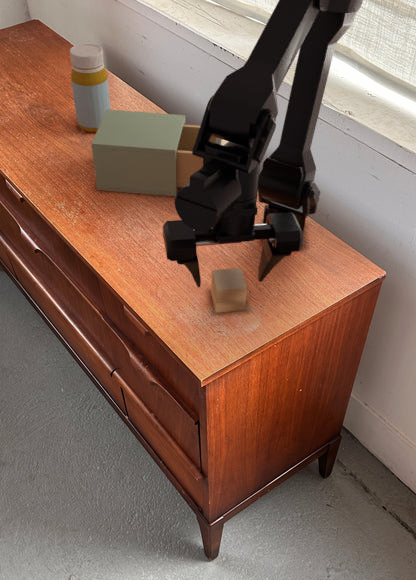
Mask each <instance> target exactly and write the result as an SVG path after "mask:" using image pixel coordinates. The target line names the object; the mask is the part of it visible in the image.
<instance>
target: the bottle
mask: <svg viewBox="0 0 416 580" xmlns="http://www.w3.org/2000/svg"><path fill="white" fill-rule="evenodd" d="M69 56H70V62H71V68H72V69H71V73H70V79H71V87H72V88H71V89H72V95H73V103H74V110H75V116H76V122H77V123H76V124H77V126H78V127H79V128H80V129H81V130H82V131H84V132H86V133H92V134H93V133H95V134H96V132H97V130H98V128H99V126H100V124H101V121H102V119H103V117H104V115H105V113H106V110H107V109H109V110H112V109H111V100H110V88H109V79H108V72H107V70H106V68H105V63H104V62H105V61H104V60H105V59H104V50H103V48H102V46H101V45H99V44H94V43H79V44H76V45H73V46H72V47H71V48H70V49H69Z"/></svg>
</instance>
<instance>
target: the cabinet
mask: <svg viewBox="0 0 416 580" xmlns="http://www.w3.org/2000/svg"><path fill="white" fill-rule="evenodd" d="M183 125H186V115H185V114H174V113H161V112H160V113H159V112H147V111H135V110H134V111H133V110H122V109H121V110H119V109H111V110H109V109H107V110H106V113H105V115H104V117H103V119H102V121H101V124H100V126H99V128H98V130H97V132H96V133H95V134H94V137H93V139H92V141H91V152H92V153H91V154H92V161H93V168H94V176H95V185H96V191H105V192H106V191H107V192H118V193H129V194H140V195H153V196H165V197H176V196H177V193H178V192H179V187H177V172H176V151H177V147H178V144H179V140H180V136H181V133H182V129H183Z"/></svg>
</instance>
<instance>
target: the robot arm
mask: <svg viewBox="0 0 416 580" xmlns="http://www.w3.org/2000/svg"><path fill="white" fill-rule="evenodd" d="M363 3H364V0H278V1H277V3H276V5H275V7H274V9H273V11H272V13H271V15H270V17H269V18H268V20H267V22H266V24H265V26H264V28H263V30H262V32H261V34H260V35H259V37H258V39H257V41H256V42H255V45H254V47H253V49H252V50H251V52H250V54H249V55H248V58H247V59H246V61H245V63H244V64H243V66H241V67H240V68H238V69H236V70H234V71H232V72H231V73H228V75H226V76H225V77H224V78H223V80H222V81H221V83H220V85H219V86H218V87H217V89H216V91H215V92H214V94H213V95H212V96H211V97H210V98H209V100H208V101H207V105H206V108H205V110H204V114H203V116H202V120H201V123H200V125H199V126H200V129H199V132H198V135H197V139H196V142H195V145H194V148H193V151H192V155H194V156H197V157H200V158H203V167H202V168H201V169H200V170H198V171H196V172H195V173H193V174H192V175H191V176H190V181H189V182H188V183H187V184H186V185H185V186H184V187H180V189H178V191H177V195H176V196H175V198H174V208H175V210H176V214H177V216H178V217H179V219H174V220H167V221H166V222H165V223H164V224H163V225H162V238H163V244H164V249H165V254H166V255H165V256H166V259H167V260H169V261H171V262H176V263H177V264H178V265H180V266H181V265H184V266H185V267H186V269H187V270H188V272H189V273H190V274H191V276H192V278H193V281H194V283H195V285H196V287H197V288H201V285H202V279H201V272H200V263H199V258H198V253H197V247H205V246H216V245H230V244H241V243H246V242H254V241H260V240H261V241H262V247H261V248H262V249H261V253H260V257H259V262H258V267H257V281H258V283H262V282H263V281H264V280H265V279H266V278H267V276H268V275H269V274H270V273H271V272H272V271H273V270H274V268H275V267H276V266H277V265H278V264H279V263H280V262H281V261H282V260H283V259H284V258H286V257H290V256H291V255H292V254H293V253H294V252H300V251H301V250H302V249H303V246H304V233H305V226H306V219H307V217H308V216H309V215H315V214H316V213H317V209H318V204H319V201H320V195H321V190H320V189H319V187H318V186H317V184H316V183H315V177H316V171H317V165H316V163H315V159H314V156H313V153H312V150H311V148H312V143H313V139H314V135H315V131H316V127H317V122H318V119H319V114H320V111H321V107H322V102H323V98H324V94H325V90H326V86H327V82H328V78H329V73H330V69H331V64H332V61H333V57H334V53H335V49H336V44H337V43H338V42H339V41H340V40H341V38H342V37H343V36H344V35H345V34H346V33H347V31H349V29H350V28H351V27H352V26H353V24H354V21H355V19H356V15H357V13H358V12H359V11H360V9H361V7H362V5H363ZM297 55H298V56H297ZM296 57H297V60H296V65H295V68H294V69H295V70H294V76H293V79H292V83H291V88H290V93H289V97H288V98H289V99H288V103H287V107H286V112H285V117H284V122H283V125H282V131H281V134H280V140H279V143H278V146H277V147H276V149H275V150H274V151H273V152H271V154H270V155H269V156H267V157H265V155H266V152H267V150H268V149H269V148H268V147H269V145H270V143H271V141H272V138H273V137H274V133H275V131H276V127H277V123H276V122H277V121H276V120H277V116H278V114H279V108H278V107H279V105H278V98H277V97H278V92H279V89H280V88H281V85H282V83H283V82H284V80H285V78H286V76H287V74H288V72H289V70H290V68H291V66H292V64H293V62H294V61H295V58H296ZM211 136H214V137H216V139H220V140H221V139H223V140H226V141H229V142H227V143H226V144H225V145H224V146H223V145H221V143H220V144H219V143H217V142H216V143H214V142H210V141H209V140H210V138H211ZM264 157H265V159H264ZM263 160H264V161H263ZM261 163H262V167H261ZM257 202H259V203H260V204H265V205H264V208H263V209H264V210H263V217H262V223H255V222H256V216H257V215H258V206H257Z"/></svg>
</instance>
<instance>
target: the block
mask: <svg viewBox="0 0 416 580" xmlns="http://www.w3.org/2000/svg"><path fill="white" fill-rule="evenodd" d="M210 284H211V285H210V295H211V298H212V299H211V300H212V303H213V309H214V311H215V313H216V314H217V313H230V312H241V311H246V307H247V306H246V305H247V296H248V295H247V294H248V285H247V281H246V279H245V275H244V271H243V268H242V267H236V268H224V269H223V268H222V269H212V270H211V283H210Z"/></svg>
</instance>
